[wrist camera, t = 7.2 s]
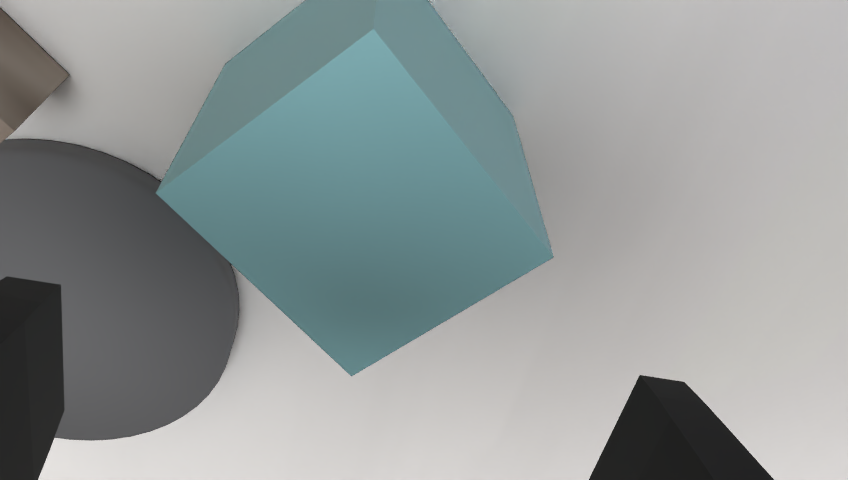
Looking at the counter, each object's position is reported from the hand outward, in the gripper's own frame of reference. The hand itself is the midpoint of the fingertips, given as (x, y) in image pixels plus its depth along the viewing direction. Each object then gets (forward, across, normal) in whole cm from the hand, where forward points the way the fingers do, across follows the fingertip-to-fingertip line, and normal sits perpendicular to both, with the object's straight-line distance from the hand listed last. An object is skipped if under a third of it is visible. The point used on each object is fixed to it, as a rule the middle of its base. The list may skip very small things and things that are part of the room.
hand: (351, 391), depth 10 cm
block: (+10, 0, 0) cm, 10 cm away
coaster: (+10, +7, +7) cm, 14 cm away
